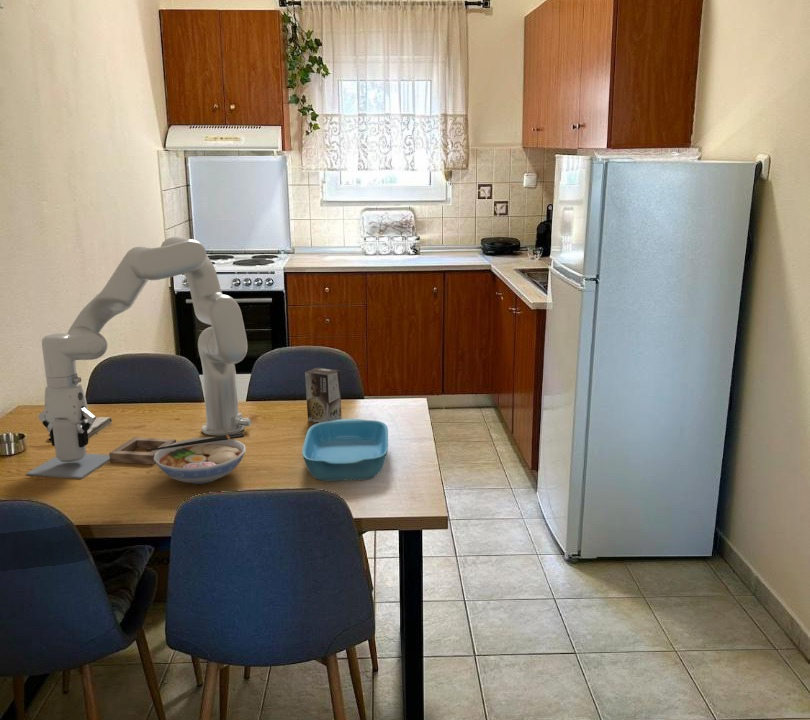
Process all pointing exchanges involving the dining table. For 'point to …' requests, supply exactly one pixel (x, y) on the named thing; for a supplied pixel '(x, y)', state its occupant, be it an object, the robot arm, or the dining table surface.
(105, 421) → the washcloth
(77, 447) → the can
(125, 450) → the shallow wooden tray
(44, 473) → the grey mat
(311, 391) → the coffee box
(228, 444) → the ramen bowl
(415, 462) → the dining table surface
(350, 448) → the casserole dish
